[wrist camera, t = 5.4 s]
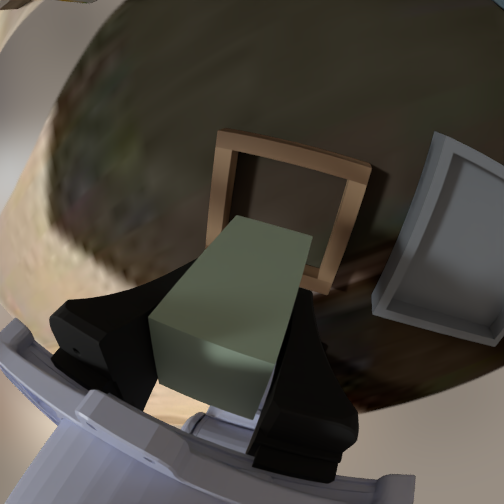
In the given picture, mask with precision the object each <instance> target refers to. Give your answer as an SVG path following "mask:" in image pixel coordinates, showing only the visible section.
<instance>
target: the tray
mask: <svg viewBox="0 0 504 504" xmlns="http://www.w3.org/2000/svg"><path fill="white" fill-rule="evenodd" d="M372 314H373V315H376V316H380V317H384V318H387V319H391V320H394V321H398V322H401V323H405V324H409V325H412V326H416V327H420V328H423V329H427V330H431V331H435V332H438V333H442V334H446V335H450V336H454V337H457V338H461V339H465V340H469V341H473V342H477V343H481V344H485V345H489V346H493V347H495V346H496V345H497V344H498V342H499V341H500V340H501V339H502V337H503V336H504V166H503V165H501V164H499V163H498V162H496V161H494V160H492V159H491V158H489V157H487V156H485V155H484V154H482V153H480V152H478V151H476V150H474V149H472V148H470V147H468V146H467V145H465V144H463V143H461V142H458V141H456V140H454V139H452V138H450V137H448V136H446V135H443V134H441V133H438V132H435V131H434V135H433V138H432V142H431V145H430V149H429V152H428V155H427V159H426V162H425V165H424V168H423V171H422V174H421V177H420V180H419V183H418V186H417V189H416V192H415V195H414V198H413V200H412V203H411V206H410V208H409V211H408V214H407V216H406V219H405V221H404V224H403V226H402V229H401V231H400V234H399V236H398V239H397V241H396V243H395V246H394V248H393V250H392V252H391V255H390V257H389V259H388V261H387V264H386V266H385V268H384V270H383V272H382V274H381V277H380V279H379V281H378V283H377V285H376V287H375V289H374V291H373V293H372Z"/></svg>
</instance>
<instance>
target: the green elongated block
mask: <svg viewBox="0 0 504 504" xmlns="http://www.w3.org/2000/svg"><path fill="white" fill-rule="evenodd" d="M312 237H313V236H310V235H306V234H303V233H299V232H296V231H292V230H289V229H285V228H282V227H278V226H275V225H271V224H267V223H264V222H260V221H257V220H253V219H249V218H246V217H242V216H238V215H236V216H235V217H234V218H233V220H232V221H231V222H230V223H229V224H228V225H227V226H226V227H225V228H224V230H223V231H222V232H221V233H220V234H219V235H218V236H217V237H216V238H215V240H214V241H213V242H212V243H211V244H210V245H209V246H208V247H207V249H206V250H205V251H204V252H203V253H202V254H201V255H200V257H199V258H198V259H197V260H196V261H195V262H194V263H193V265H192V266H191V267H190V268H189V269H188V270H187V272H186V273H185V274H184V275H183V276H182V277H181V278H180V280H179V281H178V282H177V283H176V284H175V285H174V287H173V288H172V289H171V290H170V291H169V293H168V294H167V295H166V296H165V297H164V298H163V300H162V301H161V302H160V303H159V304H158V306H157V307H156V308H155V309H154V310H153V312H152V313H151V314H150V315H149V316H148V321H149V328H150V335H151V341H152V347H153V353H154V359H155V365H156V370H157V375H158V380H159V384H162V385H164V386H166V387H168V388H170V389H172V390H175V391H177V392H179V393H181V394H184V395H186V396H188V397H191V398H193V399H196V400H198V401H201V402H203V403H206V404H208V405H211V406H213V407H216V408H219V409H221V410H224V411H227V412H230V413H233V414H235V415H238V416H241V417H244V418H247V419H250V420H253V419H254V417H255V415H256V412H257V410H258V407H259V405H260V402H261V400H262V397H263V395H264V392H265V390H266V387H267V385H268V382H269V379H270V377H271V374H272V372H273V369H274V366H275V364H276V361H277V357H278V354H279V351H280V348H281V345H282V342H283V339H284V335H285V332H286V329H287V326H288V322H289V319H290V316H291V313H292V309H293V306H294V302H295V299H296V296H297V292H298V289H299V285H300V282H301V278H302V274H303V271H304V267H305V263H306V260H307V256H308V252H309V249H310V245H311V241H312Z"/></svg>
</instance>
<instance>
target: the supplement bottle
mask: <svg viewBox="0 0 504 504" xmlns="http://www.w3.org/2000/svg"><path fill="white" fill-rule="evenodd" d="M57 1H68V2H77V3H78V2H79V3H92V2H95V1H97V0H57Z"/></svg>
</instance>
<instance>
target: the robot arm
mask: <svg viewBox="0 0 504 504" xmlns="http://www.w3.org/2000/svg"><path fill="white" fill-rule="evenodd" d="M197 259H198V258H197ZM197 259H195V260H193V261H191V262H189V263H188V264H186V265H184V266H182V267H180V268H178V269H176V270H174V271H172V272H170V273H168V274H166V275H164V276H162V277H160V278H158V279H155V280H153V281H151V282H149V283H146V284H144V285H141V286H138V287H135V288H132V289H129V290H126V291H122V292H118V293H114V294H110V295H105V296H100V297H94V298H86V299H74V300H67V301H66V302H65V303H64V304H63V305H62V306H61V307H60V308H59V309H58V310H57V311H55V312H54V313H53V314H52V315H51V316H50V319H49V322H50V327H51V330H52V332H53V334H54V336H55V338H56V340H57V342H58V344H59V346H60V348H59V349H58V350H57V351H56V352H55V354H54V355H53V354H51V353H50V352H49V351H47V350H46V349H45V348H44V347H42V346H41V345H40V344H39V343H37V342H36V341H35V340H34V337H33V335H32V333H31V331H30V330H29V329H28V328H27V327H26V326H25V325H24V324H23V323H22V322H21V321H19V320H18V319H17V318H14V319H13V320H12V321H11V322H10V323H9V324H8V325H7V326H6V327H5V328H4V329H3V330H2V331H1V332H0V369H1V370H2V371H3V373H4V374H5V375H6V377H7V378H8V379H9V380H10V381H11V382H12V383H13V384H14V385H15V386H16V387H17V388H18V389H19V390H20V391H21V392H22V393H23V394H24V395H25V396H26V397H27V398H28V399H29V400H30V401H31V402H32V403H33V404H34V405H35V406H36V407H37V408H38V409H40V411H42V412H43V413H44V414H45V415H46V416H47V417H48V418H49V419H51V420H52V421H53V422H54V423H55V424H56V425H57V426H58V427H57V428H56V429H55V431H54V432H53V434H52V435H51V436H50V438H49V439H48V440H47V442H46V443H45V445H44V446H43V447H42V449H41V450H40V452H39V453H38V455H37V456H36V457H35V459H34V460H33V462H32V463H31V464H30V466H29V467H28V469H27V470H26V472H25V473H24V475H23V476H22V478H21V479H20V480H19V482H18V483H17V485H16V487H15V488H14V490H13V491H12V493H11V494H10V496H9V497H8V499H7V500H6V502H5V503H4V504H413V501H414V491H415V477H416V476H415V475H401V474H389V475H385V476H382V477H381V478H379V479H378V480H375V479H364V478H355V477H346V476H339V475H336V471H337V466H338V463H340V462H341V459H342V453H343V452H344V451H345V450H346V449H348V448H349V447H350V446H352V445H353V444H354V443H355V442H356V441H357V437H358V431H359V423H358V412H357V410H356V409H355V407H354V406H353V405H352V403H351V402H350V400H349V399H348V398H347V396H346V395H345V393H344V391H343V390H342V388H341V386H340V384H339V382H338V381H337V379H336V377H335V375H334V373H333V371H332V369H331V367H330V364H329V362H328V360H327V357H326V354H325V352H324V349H323V346H322V343H321V339H320V336H319V332H318V328H317V324H316V319H315V314H314V307H313V293H312V292H311V291H310V290H306V289H303V288H300V287H299V289H298V292H297V296H296V299H295V302H294V306H293V309H292V313H291V316H290V319H289V322H288V326H287V329H286V332H285V335H284V339H283V342H282V345H281V348H280V351H279V354H278V357H277V361H276V364H275V366H274V369H273V372H272V374H271V377H270V379H269V382H268V385H267V387H266V390H265V392H264V395H263V397H262V400H261V402H260V405H259V407H258V410H257V412H256V415H255V417H254V419H253V420H250V419H247V418H244V417H241V416H238V415H235V414H233V413H230V412H227V411H224V410H221V409H219V408H216V407H213V406H211V405H210V407H209V409H208V411H207V413H203V412H199V413H196V414H195V415H193V416H191V417H190V418H189V419H188V420H187V421H186V422H185V423H184V425H183V426H182V428H181V430H180V429H178V428H176V427H174V426H171V425H169V424H167V423H165V422H163V421H161V420H159V419H157V418H155V417H153V416H151V415H149V414H147V413H145V412H143V410H144V408H145V405H146V403H147V401H148V399H149V396H150V394H151V392H152V390H153V388H154V386H155V384H156V381H157V379H158V375H157V370H156V365H155V359H154V353H153V347H152V341H151V335H150V328H149V321H148V316H149V315H150V314H151V313H152V312H153V310H154V309H155V308H156V307H157V306H158V304H159V303H160V302H161V301H162V300H163V298H164V297H165V296H166V295H167V294H168V293H169V291H170V290H171V289H172V288H173V287H174V285H175V284H176V283H177V282H178V281H179V280H180V278H181V277H182V276H183V275H184V274H185V273H186V272H187V270H188V269H189V268H190V267H191V266H192V265H193V263H194V262H195V261H196V260H197Z"/></svg>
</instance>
